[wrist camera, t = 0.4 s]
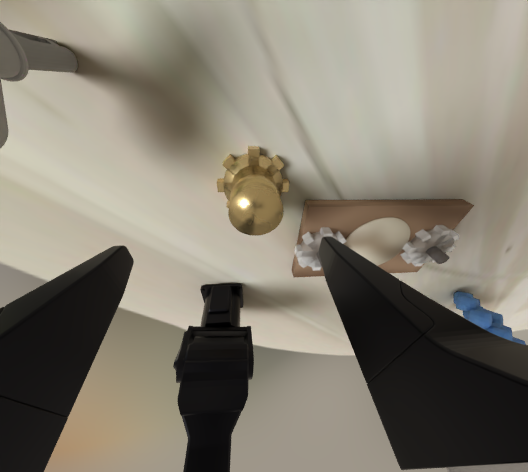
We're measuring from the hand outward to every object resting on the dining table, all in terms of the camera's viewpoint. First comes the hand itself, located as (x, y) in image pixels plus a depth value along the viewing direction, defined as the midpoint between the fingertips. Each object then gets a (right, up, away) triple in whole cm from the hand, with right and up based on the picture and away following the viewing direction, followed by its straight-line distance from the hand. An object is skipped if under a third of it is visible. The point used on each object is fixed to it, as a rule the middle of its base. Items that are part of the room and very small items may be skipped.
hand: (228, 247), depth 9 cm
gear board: (+16, 0, +17) cm, 24 cm away
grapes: (+40, -11, +30) cm, 51 cm away
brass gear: (+1, +6, +11) cm, 12 cm away
